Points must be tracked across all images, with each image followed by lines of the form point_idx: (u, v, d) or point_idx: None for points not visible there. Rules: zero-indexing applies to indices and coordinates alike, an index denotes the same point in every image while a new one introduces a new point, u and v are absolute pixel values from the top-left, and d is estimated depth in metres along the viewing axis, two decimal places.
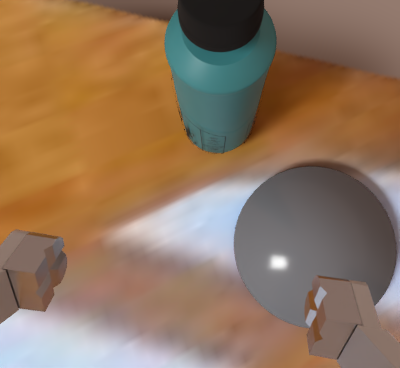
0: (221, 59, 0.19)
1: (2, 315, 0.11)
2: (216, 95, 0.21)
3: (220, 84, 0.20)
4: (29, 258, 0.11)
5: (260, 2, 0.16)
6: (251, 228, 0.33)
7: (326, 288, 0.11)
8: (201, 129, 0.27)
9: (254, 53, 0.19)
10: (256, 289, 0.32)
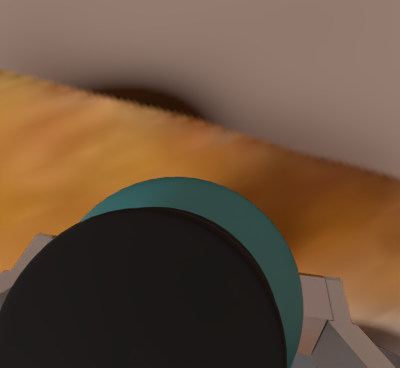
0: None
1: None
2: None
3: None
4: None
5: None
6: None
7: None
8: None
9: None
10: None
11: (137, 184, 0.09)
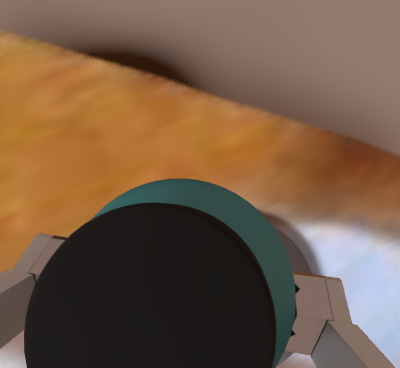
0: None
1: None
2: None
3: None
4: None
5: None
6: None
7: (299, 284, 0.11)
8: None
9: None
10: None
11: (144, 185, 0.10)
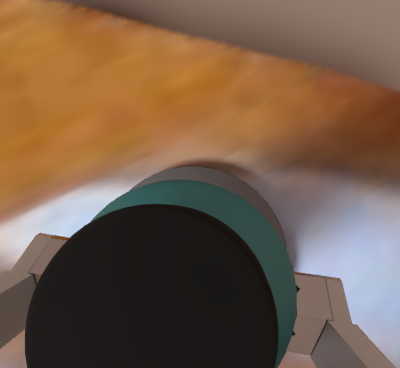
0: None
1: None
2: None
3: None
4: None
5: None
6: None
7: (299, 284, 0.11)
8: None
9: None
10: None
11: (145, 186, 0.10)
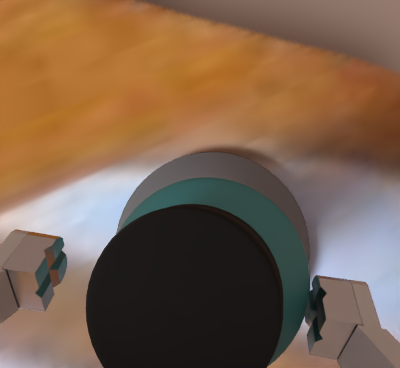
0: None
1: (2, 315, 0.11)
2: None
3: None
4: (29, 258, 0.11)
5: (271, 354, 0.07)
6: None
7: (326, 288, 0.11)
8: None
9: None
10: None
11: (176, 183, 0.12)
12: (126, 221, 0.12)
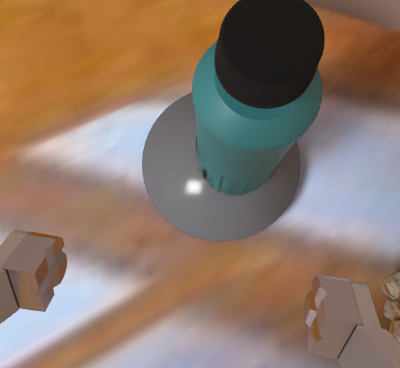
0: (261, 113, 0.16)
1: (2, 315, 0.11)
2: (251, 152, 0.18)
3: (258, 140, 0.17)
4: (29, 258, 0.11)
5: (320, 55, 0.13)
6: (160, 145, 0.34)
7: (326, 288, 0.11)
8: (222, 176, 0.24)
9: (299, 107, 0.17)
10: (160, 203, 0.33)
11: None
12: (205, 53, 0.18)
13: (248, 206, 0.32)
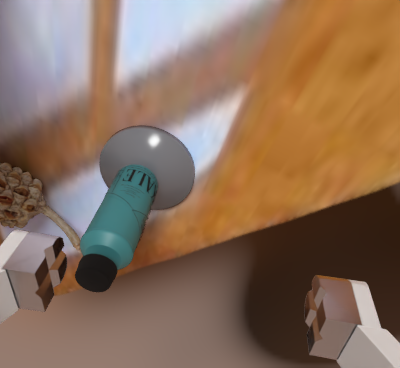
0: (90, 249, 0.41)
1: (2, 315, 0.11)
2: (86, 231, 0.42)
3: (85, 239, 0.41)
4: (29, 258, 0.11)
5: (78, 283, 0.39)
6: (178, 157, 0.52)
7: (326, 288, 0.11)
8: (113, 191, 0.47)
9: None
10: (148, 133, 0.51)
11: (130, 261, 0.43)
12: (130, 250, 0.42)
13: (115, 165, 0.54)
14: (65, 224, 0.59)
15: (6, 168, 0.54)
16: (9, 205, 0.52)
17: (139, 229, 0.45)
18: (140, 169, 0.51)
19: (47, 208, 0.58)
